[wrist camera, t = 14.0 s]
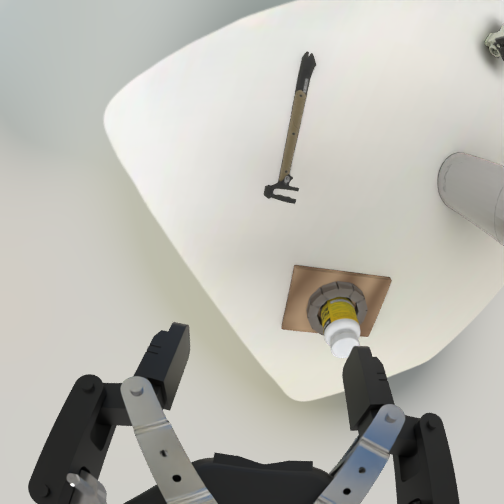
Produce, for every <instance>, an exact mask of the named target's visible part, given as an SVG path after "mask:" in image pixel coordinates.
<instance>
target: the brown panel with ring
mask: <svg viewBox="0 0 504 504" xmlns="http://www.w3.org/2000/svg"><path fill="white" fill-rule="evenodd" d="M391 281H392V280H391V279H390V277H383V276H375V275H367V274H360V273H352V272H344V271H337V270H329V269H321V268H314V267H306V266H299V265H294V270H293V275H292V280H291V285H290V290H289V294H288V299H287V304H286V308H285V313H284V317H283V322H282V329H285V330H293V331H303V332H313V333H319V334H321V335H324V333H323V326H322V319H321V312H320V307H321V306H322V305H323V304H324V303H325V302H326V301H327V300H330V299H333V298H336V297H346V298H350V299H351V301H352V303H353V306H354V309H355V313H356V316H357V319H358V322H359V326H360V331H361V332H360V336H363V337H368V336H369V334H370V332H371V330H372V327H373V325H374V323H375V321H376V318H377V316H378V314H379V311H380V309H381V306H382V304H383V301H384V299H385V296H386V294H387V291H388V289H389V286H390V283H391Z"/></svg>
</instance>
